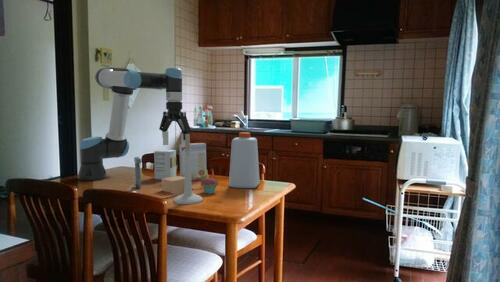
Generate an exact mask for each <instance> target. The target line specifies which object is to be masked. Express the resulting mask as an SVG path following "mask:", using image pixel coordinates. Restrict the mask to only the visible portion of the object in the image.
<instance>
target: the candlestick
mask: <svg viewBox="0 0 500 282" xmlns="http://www.w3.org/2000/svg"><path fill="white" fill-rule="evenodd" d="M190 143H191V135H190V134H189V132H188V133H187V134H185V149H184V151H185V154H186V159H185V184H184V193H183V194H178V195H176V196H175V197H174V198H173V203H174V204H176V205H195V204H199V203H202V202H203V201H204V199H203V197H202V196H201V195H198V194H195V193H193V183H192V180H191V165H190V154H191V150H192V149H190Z"/></svg>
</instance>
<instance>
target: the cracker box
mask: <svg viewBox="0 0 500 282" xmlns="http://www.w3.org/2000/svg"><path fill="white" fill-rule="evenodd" d="M178 146H179V176H181V177H185V159H186V154H185V151H184V149H185V147H181V143H179V145H178ZM190 149H192V150H191V154H190V165H191V181H198V182H201V181H202V180H203V179H205V178H207V174H206V169H207V143H205V142H195V143H194V142H193V143H192V142H190Z"/></svg>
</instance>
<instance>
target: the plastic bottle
mask: <svg viewBox="0 0 500 282" xmlns="http://www.w3.org/2000/svg"><path fill="white" fill-rule="evenodd" d="M229 160H230V161H229V162H230V163H229V174H228V176H229V177H228V185H229V187H230V188H236V189H255V188H257V187H258V185H259V184H260V182H261V180H260V167H259V166H260V164H259V150H258V139H257V138H256V137H251V132H247V131H245V132H239V133H238V137H233V139H232V140H231V147H230V159H229Z"/></svg>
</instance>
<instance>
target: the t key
mask: <svg viewBox="0 0 500 282" xmlns="http://www.w3.org/2000/svg"><path fill="white" fill-rule="evenodd" d="M133 160H134V170H135V171H134V173H135V174H134V178H135V180H134V182H133V183H134V185H135V190H141V188H142V186H141V185H142V183H141V180H142V179H141V178H142V177H141V164H142V159H141V158H140V157H138V156H135V157H134V158H133Z"/></svg>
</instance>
